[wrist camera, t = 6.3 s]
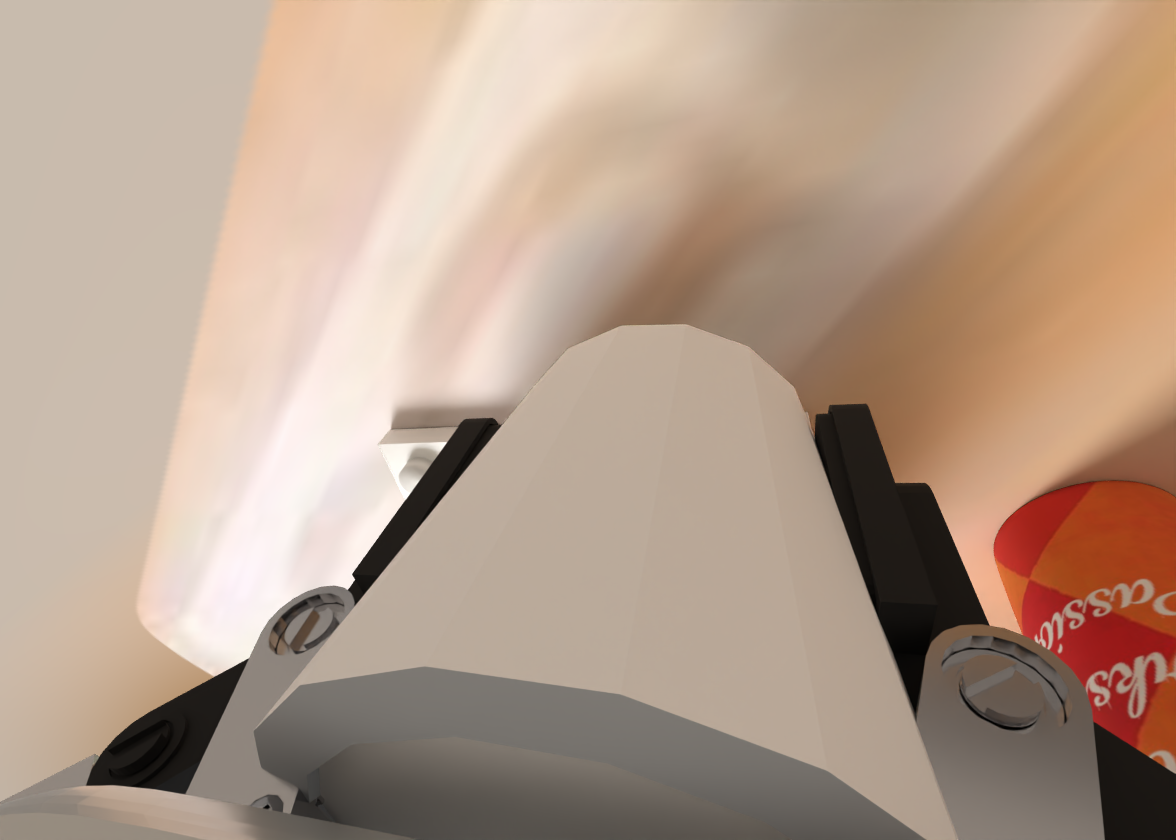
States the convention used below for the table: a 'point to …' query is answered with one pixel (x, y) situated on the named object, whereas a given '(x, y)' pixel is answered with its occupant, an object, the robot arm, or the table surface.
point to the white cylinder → (621, 631)
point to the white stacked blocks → (416, 453)
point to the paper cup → (1103, 600)
